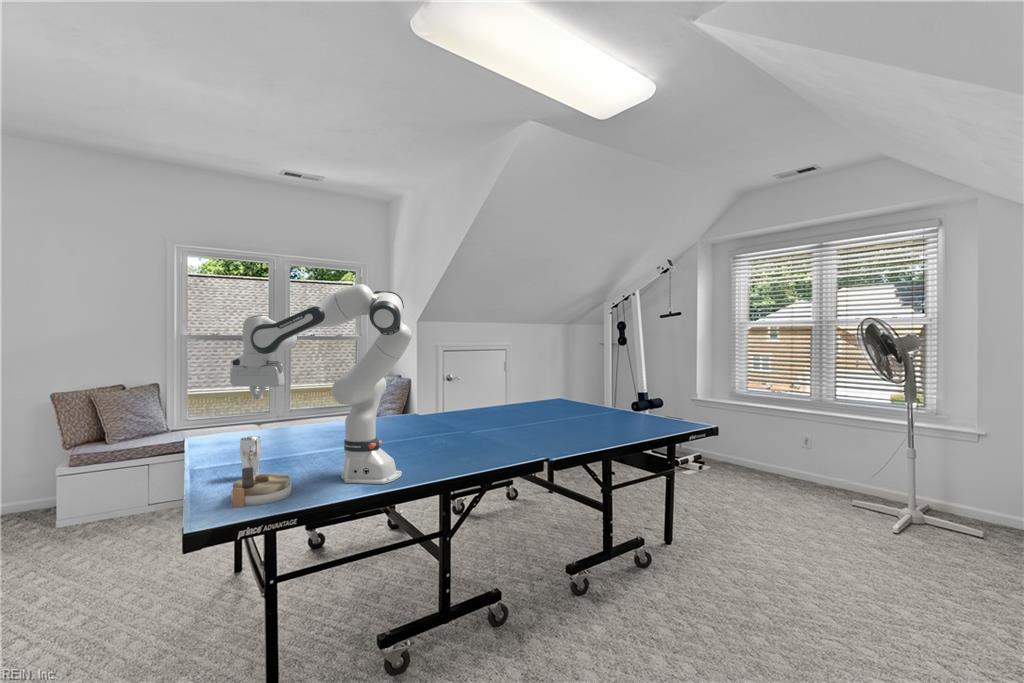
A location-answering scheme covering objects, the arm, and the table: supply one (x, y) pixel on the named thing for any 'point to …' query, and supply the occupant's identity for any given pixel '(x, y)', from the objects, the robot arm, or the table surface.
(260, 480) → the tan disc with handle
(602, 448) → the table surface
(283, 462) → the table surface
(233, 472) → the table surface
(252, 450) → the beer glass
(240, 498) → the stand
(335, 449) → the table surface
